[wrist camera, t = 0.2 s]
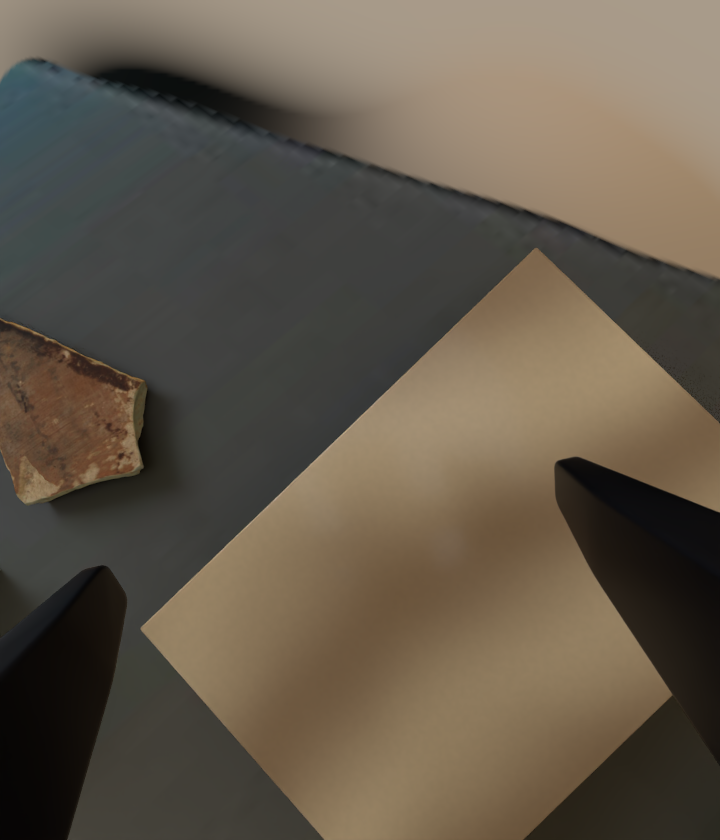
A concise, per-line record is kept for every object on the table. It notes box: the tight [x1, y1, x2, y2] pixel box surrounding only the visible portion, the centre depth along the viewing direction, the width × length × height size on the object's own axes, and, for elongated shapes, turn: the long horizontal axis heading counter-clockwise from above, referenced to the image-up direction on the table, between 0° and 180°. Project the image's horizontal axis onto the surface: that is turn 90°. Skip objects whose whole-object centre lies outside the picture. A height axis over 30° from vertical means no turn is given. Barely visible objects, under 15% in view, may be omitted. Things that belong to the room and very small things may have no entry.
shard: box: [0, 318, 147, 505], centre depth 24 cm, size 11×8×2 cm
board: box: [141, 248, 720, 840], centre depth 18 cm, size 15×21×2 cm
